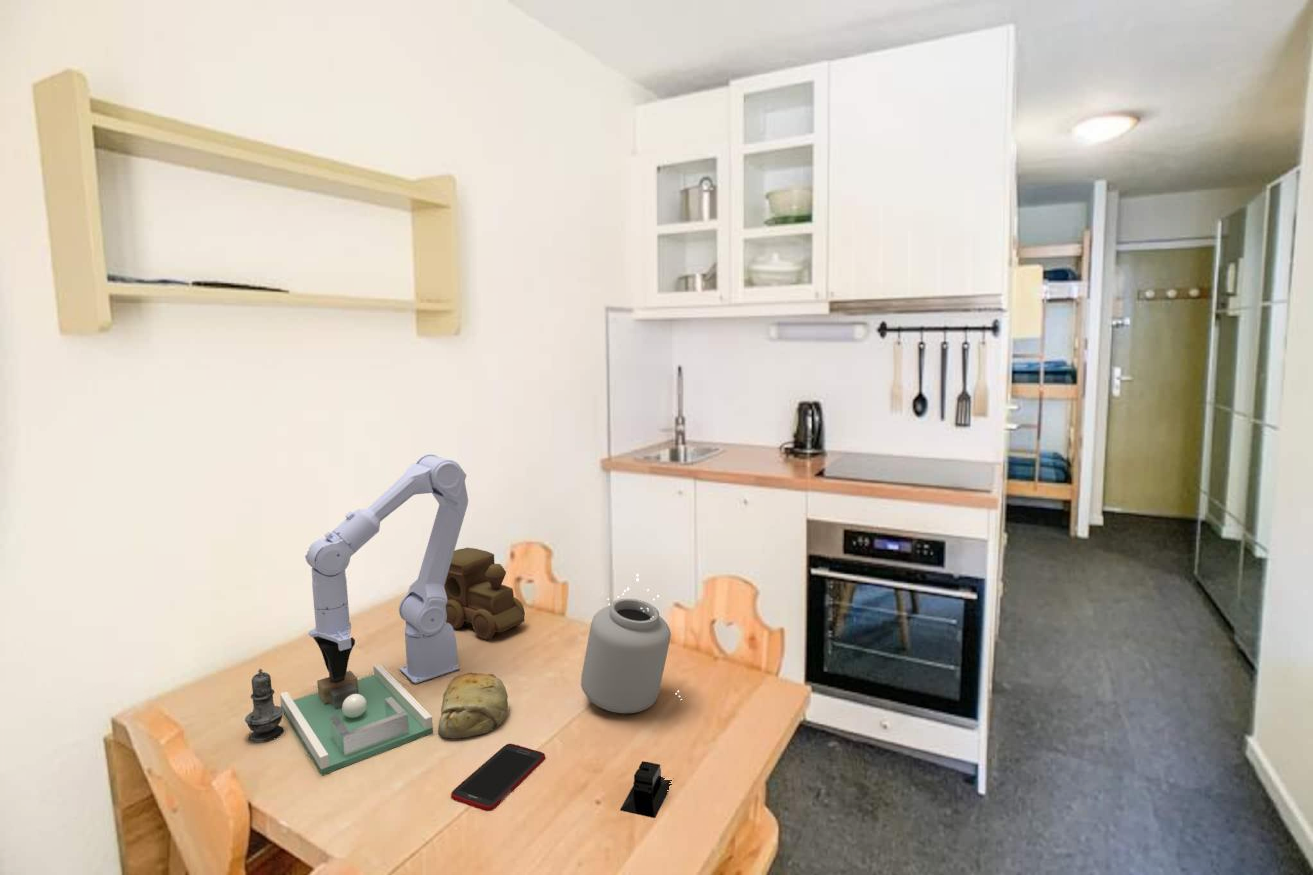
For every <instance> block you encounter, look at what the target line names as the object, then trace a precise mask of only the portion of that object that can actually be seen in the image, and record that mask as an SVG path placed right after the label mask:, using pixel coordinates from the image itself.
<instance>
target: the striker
mask: <svg viewBox="0 0 1313 875" xmlns="http://www.w3.org/2000/svg"><path fill="white" fill-rule="evenodd" d="M328 667H329V672H328V677H325V678H321V679H318V680H316V684H317V692H318V696H319V697H320V698H321V700H322V701H323V703H324V704H326V703H329V702H331V704H332V705H333V706H334V708H335V709H336V708H339V707H342V705H343V702H344V700H345V699H346V698H347V697H348V696H350V695H352V694H358V680H359V679H358V677H357V676H356V675H355V674H354V673H353V671H352V670H347V671H346V675H345V676H342V677H339V678H336V679H334V678H333V676H332V674H331V670H330V666H329V662H328Z"/></svg>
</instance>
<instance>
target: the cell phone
mask: <svg viewBox="0 0 1313 875" xmlns="http://www.w3.org/2000/svg"><path fill="white" fill-rule="evenodd" d="M545 759H546V754H545V753H544V752H542V751H539V750H536V749H532V748H530V747H529V748H528V747H525V746H521V745H519V744H514V743H507V744H505V745H504V746H503V747H501V748H500V749H499V750H498V751H497V752H495V753H494V754H492V756H491V757H490V758H488V759H487V760H486V761H485V762H484V763H483V764H481V766H479V767H478V768H477V769H476V770H474V772H472V773H471V774H470V775H469V776H468V777H466V778H465V779H464V780H463V781H462V782H461V783H460V784H459V785H458V786H456V787H455V788H453V790H452V791H451V794H450V798H451V800H453V801H455V802H458V803H461V804H465V805H468V806H470V807H473V808H476V809H480V810H482V811H487V812H491V811H493V810H494V809H495V808H497V806H499V805H500V804H501V803H502V802H503V800H504V799H505V798H506V797H507V796H508V795H509V794H510V793H512V792H513V791H514V790H515V789H516V788H518V786H519V785H520V784H521V783H523V781H524V780H525V779H526V778H527V777H528V776H530V774H532V772H534V770H535V769H536V768H538V767H539V766H540V764H542V763H543V761H544V760H545Z"/></svg>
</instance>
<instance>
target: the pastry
mask: <svg viewBox="0 0 1313 875" xmlns="http://www.w3.org/2000/svg"><path fill="white" fill-rule="evenodd" d="M508 697H509V696H508V692H507V689H506V686H505V684H504V682H503V681H502V679H501V678H500V677H499V678H498V676H496V675H495V674H494V673H487V674H486V673H480V672H479V673H477V672H471V671H470V672H467V673H464V674H459V675H457V676H455V677H453V678H452V679H451V680H450V682H449V683H448V685H447V687H446V689H445V691H444V693H443V696H442V703H441V704H442V705H441V710H440V713H441V714H440V715H441V716H440V717H439V721H438V727H437V734H438V737H441V738H446V739H459V738H465V737H466V738H467V737H468V738H469V737H475V736H479V735H484V734H487V733H489V732H491V731H492V730H494V729H495V728H496V727H498V726H499V725H500V724H501V723H502V722H503V721H504V720H505V718H506V715H507V714H508V712H509V701H508Z"/></svg>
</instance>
